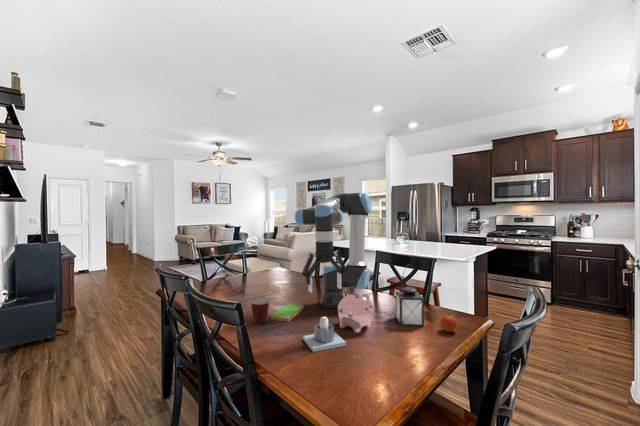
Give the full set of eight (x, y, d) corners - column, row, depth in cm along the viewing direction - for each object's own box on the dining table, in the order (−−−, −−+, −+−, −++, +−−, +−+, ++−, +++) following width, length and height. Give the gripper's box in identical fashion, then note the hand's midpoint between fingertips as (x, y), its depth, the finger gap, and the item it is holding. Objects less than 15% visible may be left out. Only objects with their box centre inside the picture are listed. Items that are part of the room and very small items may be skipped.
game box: (270, 321, 147) (288, 306, 166) (288, 324, 144) (304, 309, 163) (270, 315, 147) (288, 301, 166) (288, 318, 144) (304, 303, 163)
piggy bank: (363, 338, 125) (363, 300, 125) (331, 327, 137) (330, 293, 137) (381, 327, 136) (381, 293, 136) (350, 318, 148) (350, 286, 148)
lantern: (418, 318, 148) (417, 262, 148) (424, 326, 137) (423, 266, 137) (395, 317, 149) (395, 262, 149) (399, 326, 138) (399, 266, 138)
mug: (266, 327, 137) (265, 306, 137) (248, 327, 137) (248, 306, 137) (269, 319, 147) (269, 299, 147) (253, 319, 147) (253, 299, 147)
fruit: (456, 329, 133) (456, 311, 133) (458, 335, 127) (458, 317, 127) (440, 327, 136) (440, 310, 136) (441, 333, 129) (441, 315, 129)
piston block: (333, 334, 129) (333, 310, 129) (345, 345, 118) (345, 320, 118) (303, 339, 124) (303, 315, 124) (313, 352, 113) (313, 325, 113)
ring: (329, 333, 126) (329, 322, 126) (337, 341, 119) (337, 328, 119) (311, 336, 123) (311, 324, 123) (318, 344, 116) (318, 332, 116)
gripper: (346, 238, 134) (346, 284, 134) (293, 241, 124) (294, 291, 125) (354, 239, 127) (354, 288, 127) (299, 243, 117) (300, 296, 118)
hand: (325, 290), depth 126 cm, fingers open, 13 cm apart
